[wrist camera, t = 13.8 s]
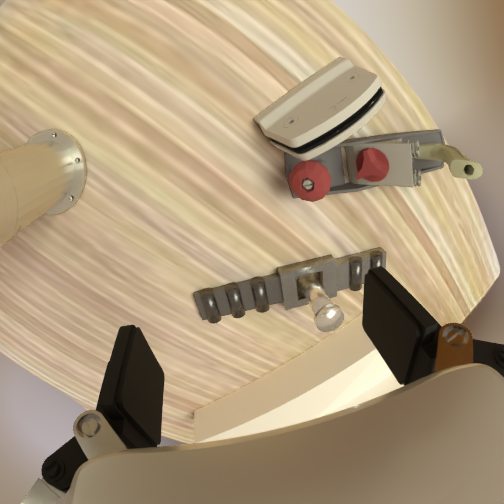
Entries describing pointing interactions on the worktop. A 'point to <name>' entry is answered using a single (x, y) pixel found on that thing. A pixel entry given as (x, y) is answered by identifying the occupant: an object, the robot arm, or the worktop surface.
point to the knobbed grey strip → (287, 285)
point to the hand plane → (376, 164)
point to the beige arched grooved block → (323, 110)
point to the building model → (302, 388)
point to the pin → (320, 304)
